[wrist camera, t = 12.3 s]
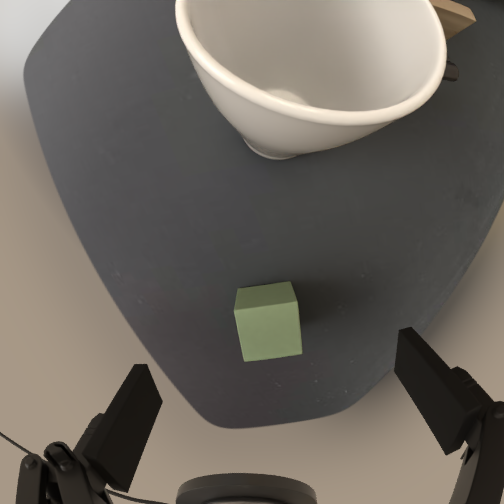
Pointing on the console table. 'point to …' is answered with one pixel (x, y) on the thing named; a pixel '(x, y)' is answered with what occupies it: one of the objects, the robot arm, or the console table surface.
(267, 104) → the drinking glass
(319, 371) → the console table surface
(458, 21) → the drawer
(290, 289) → the block
